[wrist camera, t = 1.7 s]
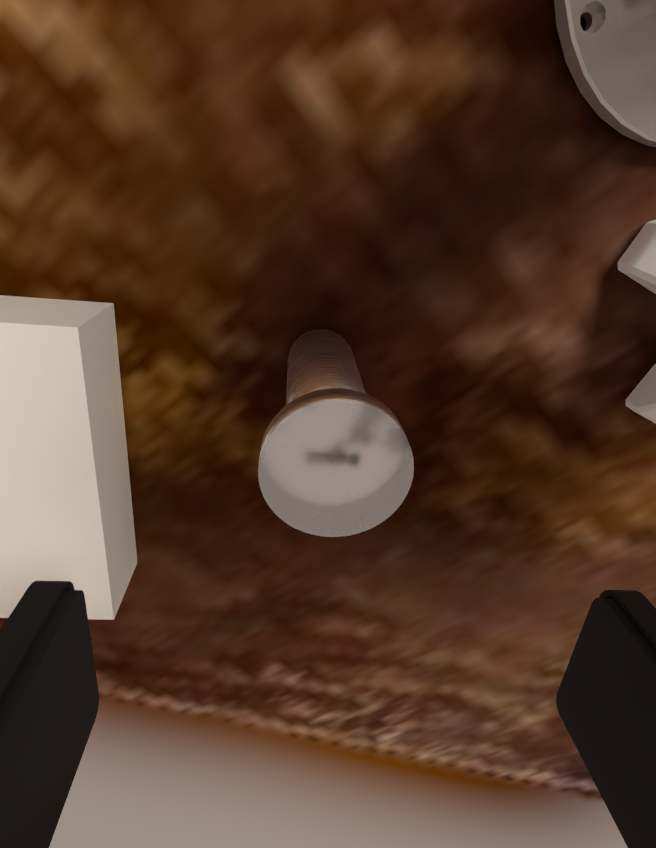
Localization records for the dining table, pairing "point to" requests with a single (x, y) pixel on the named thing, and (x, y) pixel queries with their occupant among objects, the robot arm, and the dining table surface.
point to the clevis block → (63, 453)
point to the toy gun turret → (652, 268)
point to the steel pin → (332, 445)
